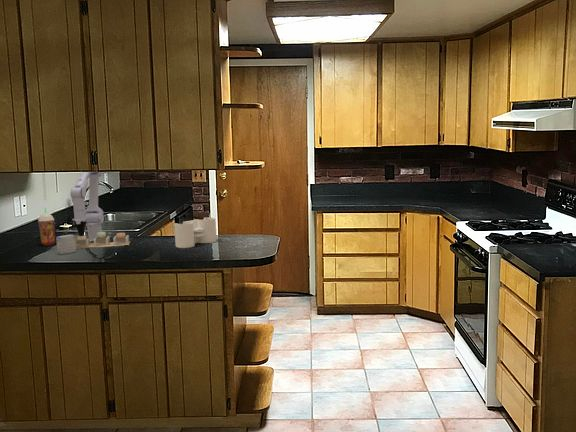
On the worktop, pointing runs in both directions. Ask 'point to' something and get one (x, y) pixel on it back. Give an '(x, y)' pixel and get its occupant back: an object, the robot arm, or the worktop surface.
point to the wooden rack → (102, 242)
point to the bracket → (195, 232)
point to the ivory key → (81, 237)
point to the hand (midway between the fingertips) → (81, 235)
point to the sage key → (101, 235)
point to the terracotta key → (120, 235)
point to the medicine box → (66, 244)
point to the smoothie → (47, 228)
